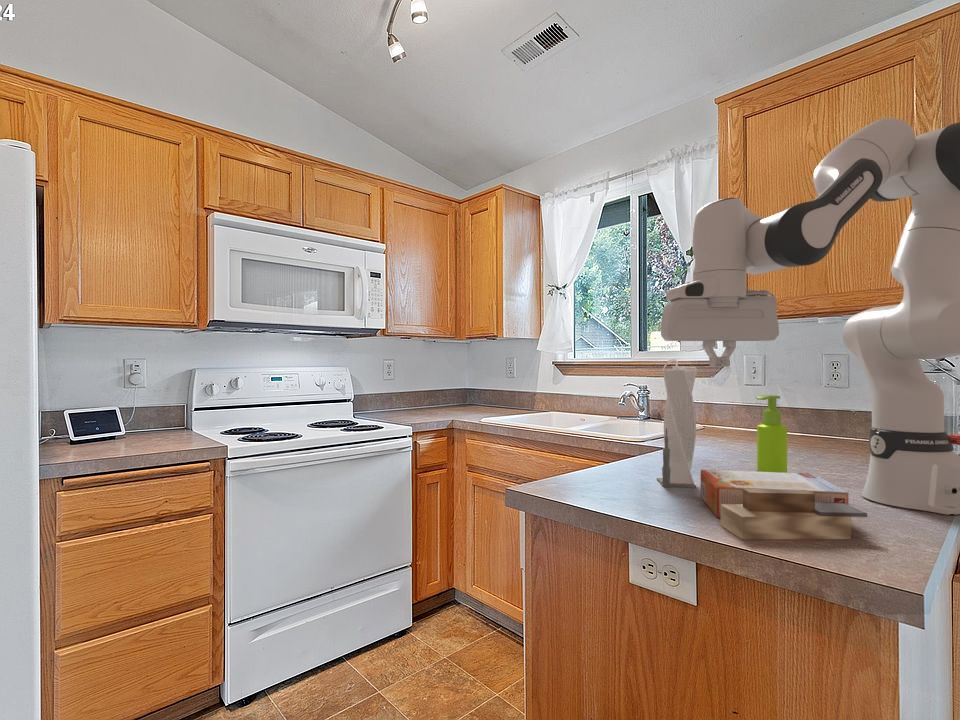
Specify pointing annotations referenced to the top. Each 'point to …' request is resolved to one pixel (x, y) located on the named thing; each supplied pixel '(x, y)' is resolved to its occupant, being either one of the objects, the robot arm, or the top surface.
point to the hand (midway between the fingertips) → (719, 366)
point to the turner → (794, 503)
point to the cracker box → (762, 486)
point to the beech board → (783, 524)
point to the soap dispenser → (771, 439)
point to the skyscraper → (678, 427)
